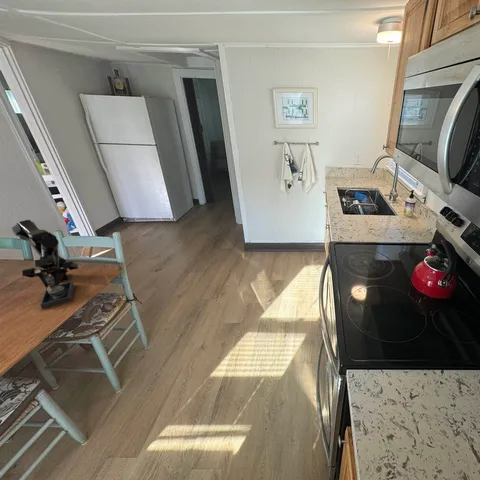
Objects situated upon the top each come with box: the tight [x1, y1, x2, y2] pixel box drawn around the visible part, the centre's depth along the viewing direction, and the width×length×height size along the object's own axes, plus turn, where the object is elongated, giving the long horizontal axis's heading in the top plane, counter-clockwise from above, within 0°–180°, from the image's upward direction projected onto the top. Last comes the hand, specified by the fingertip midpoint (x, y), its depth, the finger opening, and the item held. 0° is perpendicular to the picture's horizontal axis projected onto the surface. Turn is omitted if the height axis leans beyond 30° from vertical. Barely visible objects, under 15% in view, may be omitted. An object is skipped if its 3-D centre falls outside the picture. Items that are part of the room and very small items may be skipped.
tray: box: [39, 281, 75, 310], centre depth 130 cm, size 15×10×3 cm, turn 35°
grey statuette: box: [46, 274, 67, 299], centre depth 127 cm, size 6×6×12 cm
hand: (52, 286), depth 125 cm, fingers closed on grey statuette, 3 cm apart
